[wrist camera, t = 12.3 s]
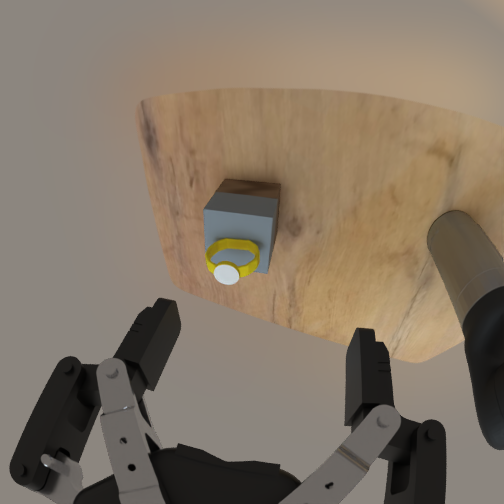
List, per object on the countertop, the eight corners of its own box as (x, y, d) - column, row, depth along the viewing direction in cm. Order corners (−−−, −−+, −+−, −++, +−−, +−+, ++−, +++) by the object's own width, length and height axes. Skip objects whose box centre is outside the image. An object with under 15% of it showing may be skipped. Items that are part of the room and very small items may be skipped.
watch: (261, 234, 34) (256, 266, 29) (261, 253, 36) (256, 286, 31) (211, 232, 35) (198, 263, 30) (213, 251, 36) (201, 283, 32)
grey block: (277, 199, 36) (272, 217, 32) (272, 251, 41) (267, 273, 37) (216, 191, 37) (203, 209, 33) (216, 243, 42) (206, 264, 38)
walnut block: (280, 183, 40) (276, 198, 36) (277, 232, 45) (272, 250, 41) (225, 178, 41) (214, 192, 37) (226, 226, 46) (217, 243, 42)
